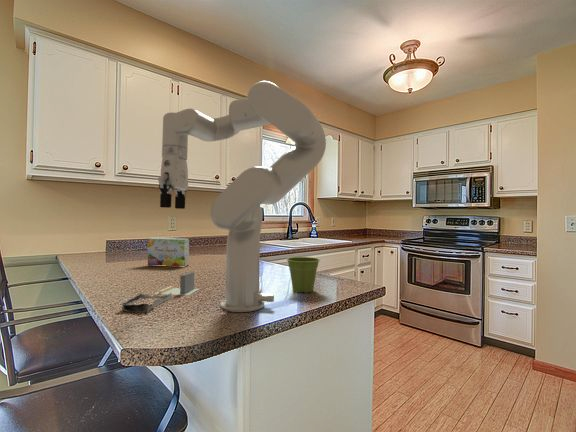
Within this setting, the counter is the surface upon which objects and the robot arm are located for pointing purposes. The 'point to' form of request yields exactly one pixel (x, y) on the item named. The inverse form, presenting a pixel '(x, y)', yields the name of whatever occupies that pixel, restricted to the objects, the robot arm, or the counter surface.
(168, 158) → the robot arm
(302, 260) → the plant pot
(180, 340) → the counter surface
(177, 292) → the mat
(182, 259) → the snack box
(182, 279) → the slate plaque
